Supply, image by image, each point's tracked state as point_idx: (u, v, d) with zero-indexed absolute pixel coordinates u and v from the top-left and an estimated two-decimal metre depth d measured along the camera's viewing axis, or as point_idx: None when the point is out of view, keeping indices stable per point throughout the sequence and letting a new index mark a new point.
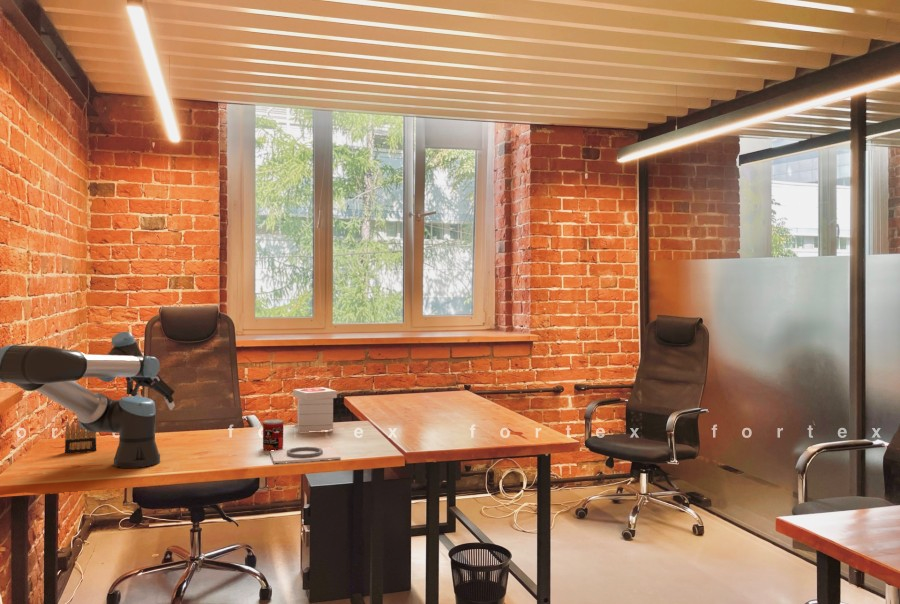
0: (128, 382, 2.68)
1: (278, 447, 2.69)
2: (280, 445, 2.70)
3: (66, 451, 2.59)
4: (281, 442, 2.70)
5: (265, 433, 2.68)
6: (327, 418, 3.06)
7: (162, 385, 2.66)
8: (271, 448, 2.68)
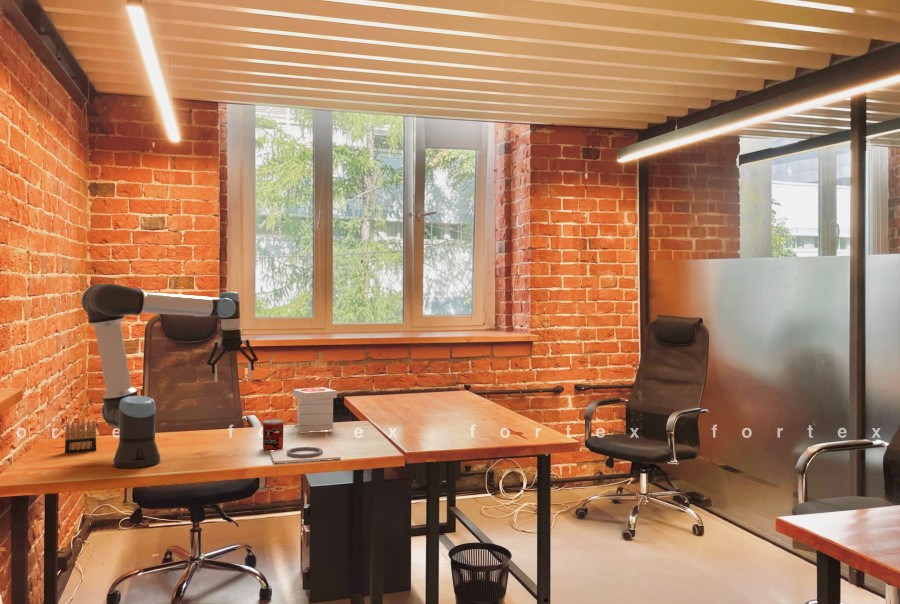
0: (215, 347, 2.80)
1: (278, 447, 2.69)
2: (280, 445, 2.70)
3: (66, 451, 2.59)
4: (281, 442, 2.70)
5: (265, 433, 2.68)
6: (327, 418, 3.06)
7: (251, 348, 2.87)
8: (271, 448, 2.68)
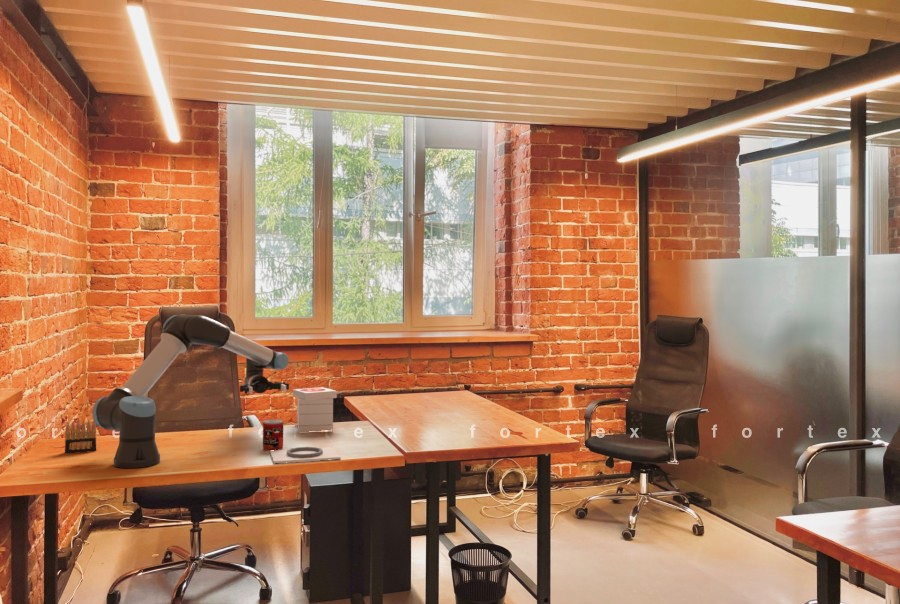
0: (246, 383, 2.90)
1: (278, 447, 2.69)
2: (280, 445, 2.70)
3: (66, 451, 2.59)
4: (281, 442, 2.70)
5: (265, 433, 2.68)
6: (327, 418, 3.06)
7: None
8: (271, 448, 2.68)
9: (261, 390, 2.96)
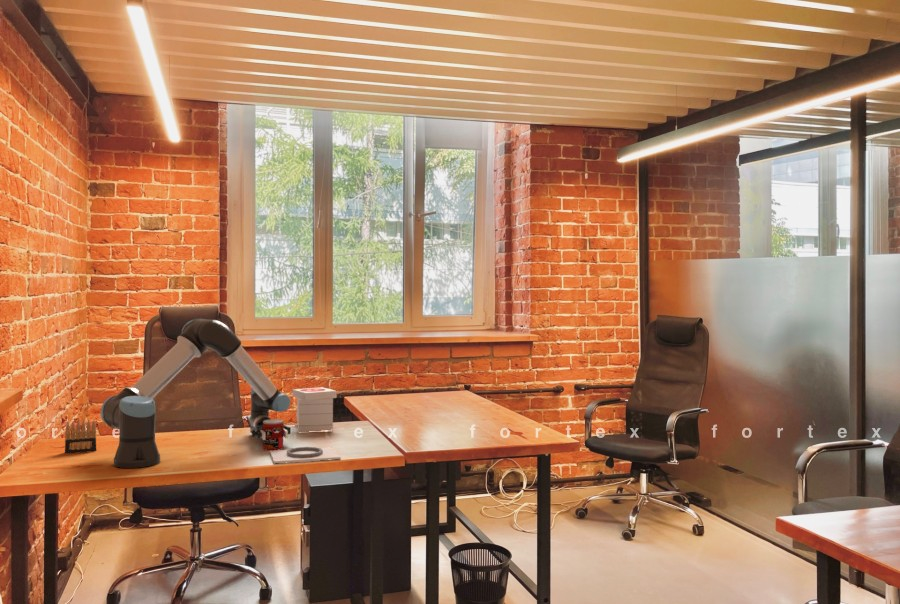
0: (253, 427, 2.78)
1: (278, 447, 2.69)
2: (280, 445, 2.70)
3: (66, 451, 2.59)
4: (281, 442, 2.70)
5: None
6: (327, 418, 3.06)
7: None
8: (271, 448, 2.68)
9: None
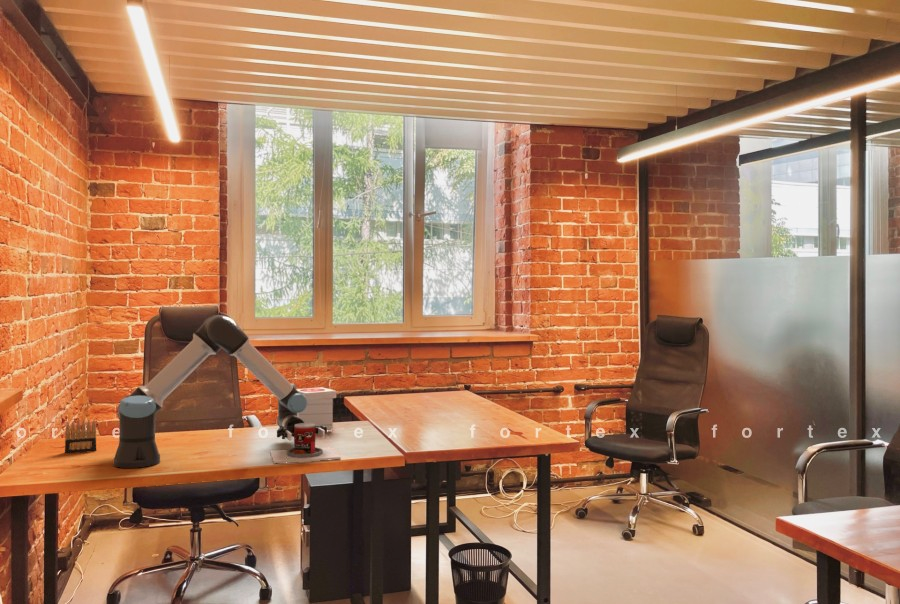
0: (281, 427, 2.65)
1: (310, 452, 2.56)
2: (312, 450, 2.57)
3: (66, 451, 2.59)
4: (313, 447, 2.57)
5: (297, 437, 2.55)
6: (327, 418, 3.06)
7: None
8: (303, 453, 2.55)
9: None
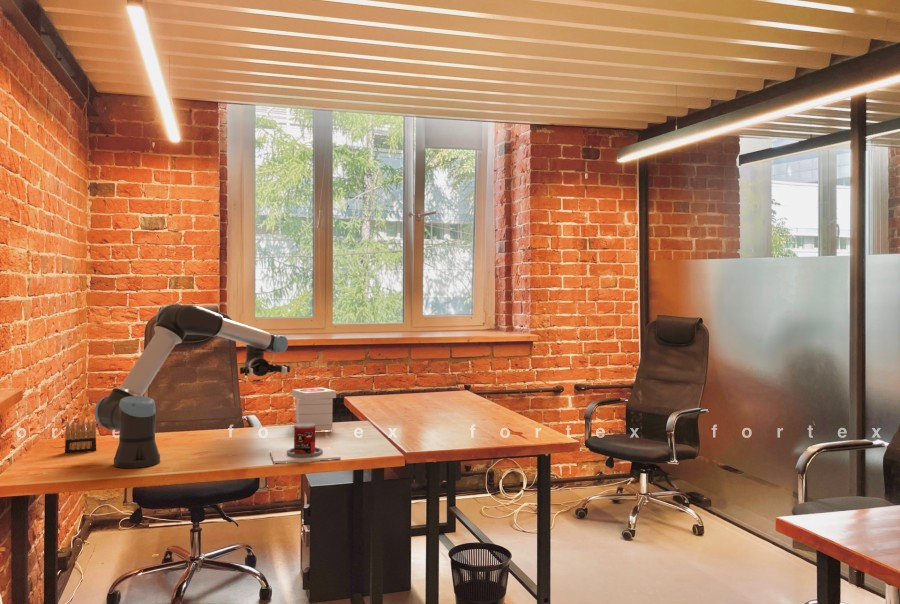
0: (246, 365, 2.85)
1: (310, 452, 2.56)
2: (312, 450, 2.57)
3: (66, 451, 2.59)
4: (313, 447, 2.57)
5: (297, 437, 2.55)
6: (327, 418, 3.06)
7: None
8: (303, 453, 2.55)
9: (261, 373, 2.91)
